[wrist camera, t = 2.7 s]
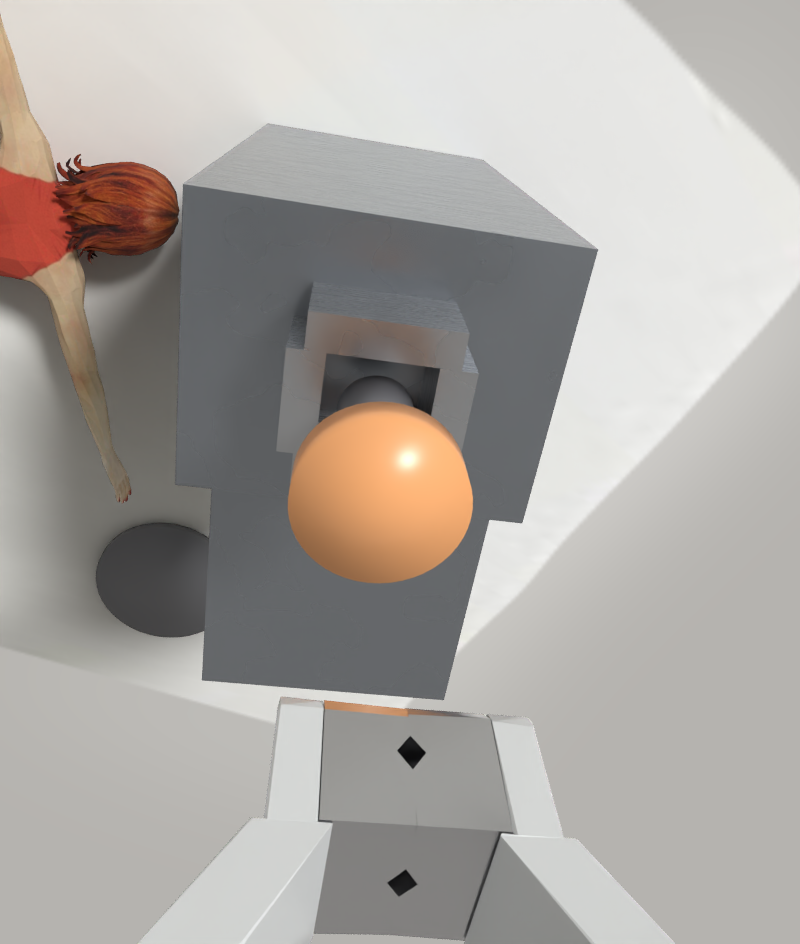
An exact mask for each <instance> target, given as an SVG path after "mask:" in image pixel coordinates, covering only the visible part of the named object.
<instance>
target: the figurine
mask: <svg viewBox="0 0 800 944" xmlns="http://www.w3.org/2000/svg"><path fill="white" fill-rule="evenodd" d="M0 133H1V141H0V276H5V277H12V278H16V279H21V280H26V281H30V282H33V283H34V284H35V285H36V286H37V287H39V288H40V289H41V290H42V291H43V292H44V293H45V294H46V295H47V296H48V299H49V303H50V306H51V310H52V314H53V319H54V323H55V327H56V331H57V334H58V338H59V341H60V345H61V348H62V352H63V354H64V357H65V360H66V363H67V366H68V368H69V371H70V374H71V377H72V380H73V383H74V386H75V389H76V392H77V395H78V397H79V400H80V403H81V406H82V409H83V412H84V415H85V418H86V421H87V424H88V426H89V428H90V431H91V433H92V435H93V437H94V440H95V442H96V444H97V447H98V449H99V451H100V453H101V457H102V463H103V465H104V468H105V470H106V472H107V475H108V477H109V479H110V481H111V484H112V485H113V486H114V489H115V493H116V499H117V502H120V501H121V503H124V501H127V500H128V494H129V495H131V488H130V483H129V478H128V476H127V473H126V471H125V469H124V467H123V466H122V464H121V462H120V460H119V459H118V457H117V455H116V453H115V451H114V449H113V446H112V442H111V434H110V426H109V418H108V411H107V406H106V401H105V395H104V389H103V386H102V383H101V379H100V376H99V373H98V369H97V363H96V357H95V351H94V347H93V344H92V340H91V336H90V332H89V327H88V323H87V319H86V315H85V311H84V293H85V276H84V272H83V269H82V266H81V264H80V261H79V257H78V253H77V249H81V248H84V247H85V249H83V250H82V251H81V253H80V257H81V255H82V253H83V251H87V252H89V254H88V261H89V262H90V263H91V261H90V256H91V258H92V259H93V257H92V255H94V256H96V257H97V255H96V254H95V253H94V251H100V252H105V253H108V254H111V255H125V256H132V255H139V254H143V253H145V252H147V251H149V250H152V249H155V248H158V247H159V246H161V245H162V244H164V243H165V242H166V241H167V240H168V239H169V238H170V236H171V235H172V234H173V233H174V230H175V228H176V226H177V224H178V214H179V207H178V201H177V194H176V191H175V189H174V187H173V186H172V184H171V182H170V181H169V180H168V179H167V178H166V177H165V176H164V175H163V174H161V173H160V172H158V171H157V170H155V169H153V168H151V167H148V166H146V165H143V164H139V163H134V162H119V163H106V164H101V165H95V166H91V167H87V166H81V159H80V160H79V162H77V160H78V158H79V156H80V155H81V154H79V155H77V156H76V157H75V158H74V164H75V166H76V167H77V168H78V169H80V171H79V172H77V171H75V170H74V169H72V168H71V167H70V166H69V163H70V159H71V158H70V159H69V160H68V161H67V163H66V167H67V168H68V169H69V170H70V171H69V170H68V169H67V170H68V172H66V171H65V170H64V169H62V167H61V165H60V162H59V163H57V169H58V172H59V173H60V174H61V175H62V176H63V177H64V178H65V179H67V180H69V181H61V182H58V178H57V174H56V170H55V166H54V162H53V158H52V154H51V150H50V146H49V143H48V141H47V139H46V137H45V135H44V134H43V132H42V130H41V129H40V127H39V125H38V124H37V122H36V121H35V119H34V117H33V116H32V114H31V112H30V109H29V106H28V102H27V99H26V95H25V92H24V88H23V85H22V82H21V79H20V76H19V73H18V69H17V65H16V62H15V58H14V55H13V52H12V49H11V46H10V43H9V41H8V38H7V35H6V32H5V30H4V27H3V23H2V19H1V15H0ZM72 172H73V173H72ZM74 173H76V174H74ZM60 184H62V185H60ZM76 243H77V245H75V244H76ZM91 254H92V255H91ZM91 264H92V263H91Z"/></svg>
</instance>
